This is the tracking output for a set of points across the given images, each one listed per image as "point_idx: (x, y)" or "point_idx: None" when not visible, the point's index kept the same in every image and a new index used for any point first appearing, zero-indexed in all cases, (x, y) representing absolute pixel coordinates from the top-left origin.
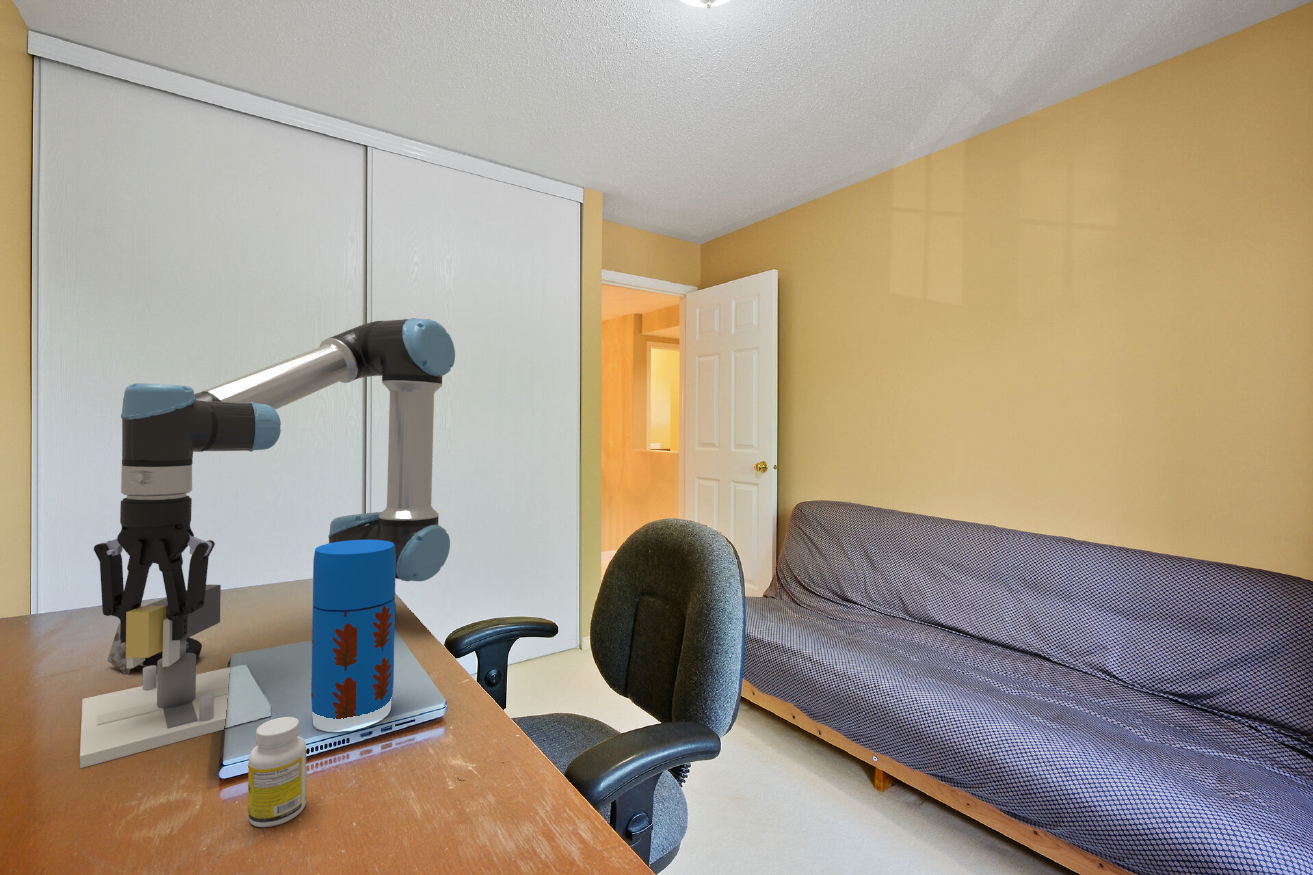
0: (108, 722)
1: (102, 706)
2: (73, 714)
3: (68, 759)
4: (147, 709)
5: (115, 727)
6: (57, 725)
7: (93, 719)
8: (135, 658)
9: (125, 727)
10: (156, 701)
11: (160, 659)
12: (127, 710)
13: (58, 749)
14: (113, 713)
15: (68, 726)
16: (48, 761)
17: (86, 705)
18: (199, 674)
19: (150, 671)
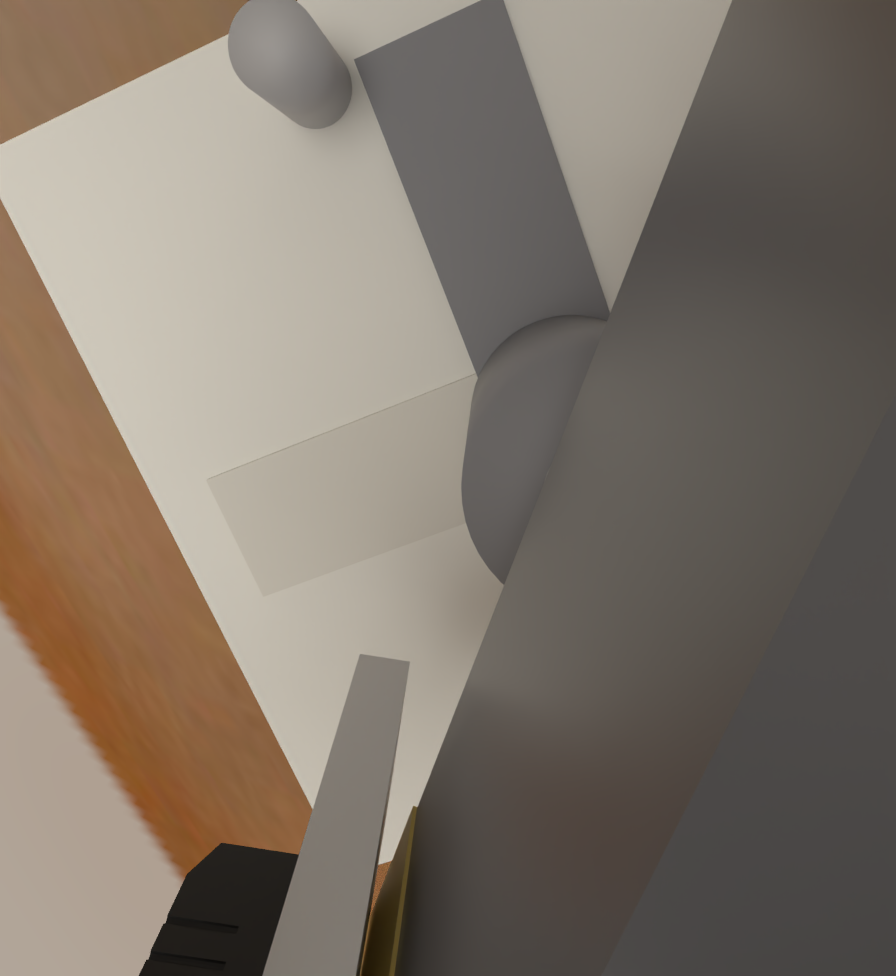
0: (306, 579)
1: (164, 329)
2: (14, 233)
3: (271, 747)
4: (443, 483)
5: (366, 644)
6: (18, 365)
7: (209, 508)
8: (382, 836)
9: (413, 658)
10: (444, 353)
11: (470, 468)
12: (340, 464)
13: (179, 642)
14: (282, 480)
15: (81, 397)
16: (201, 738)
17: (65, 285)
18: None
19: (302, 99)
